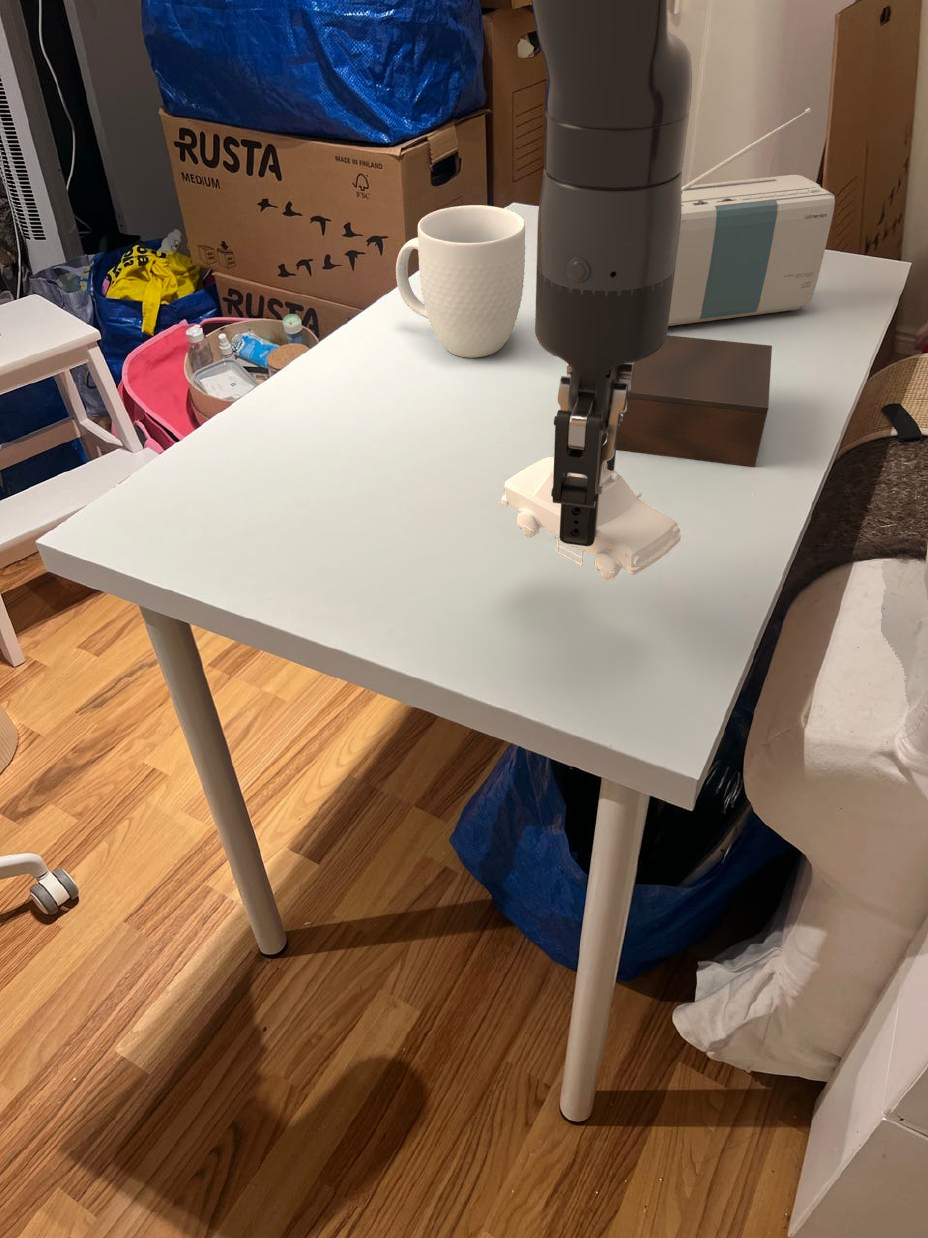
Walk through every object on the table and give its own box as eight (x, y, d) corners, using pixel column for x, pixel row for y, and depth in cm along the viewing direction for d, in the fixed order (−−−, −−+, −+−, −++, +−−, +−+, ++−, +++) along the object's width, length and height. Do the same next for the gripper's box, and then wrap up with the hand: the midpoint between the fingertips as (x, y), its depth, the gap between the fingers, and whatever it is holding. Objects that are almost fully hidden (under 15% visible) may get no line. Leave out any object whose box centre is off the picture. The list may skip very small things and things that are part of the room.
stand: (759, 401, 91) (772, 345, 87) (754, 467, 82) (768, 407, 78) (618, 386, 94) (624, 330, 89) (600, 447, 85) (605, 389, 81)
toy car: (628, 602, 58) (638, 515, 53) (493, 525, 64) (492, 441, 60) (684, 559, 61) (698, 473, 56) (549, 490, 67) (552, 408, 63)
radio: (641, 338, 101) (664, 141, 88) (615, 307, 107) (632, 119, 94) (812, 315, 105) (860, 122, 91) (778, 287, 111) (817, 102, 97)
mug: (375, 346, 101) (364, 225, 92) (427, 309, 108) (421, 193, 99) (493, 376, 96) (493, 250, 87) (540, 334, 103) (544, 214, 94)
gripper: (660, 319, 44) (629, 583, 55) (688, 216, 54) (657, 456, 65) (508, 306, 45) (507, 565, 56) (562, 208, 55) (553, 444, 67)
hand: (587, 506), depth 61 cm, fingers closed on toy car, 7 cm apart
